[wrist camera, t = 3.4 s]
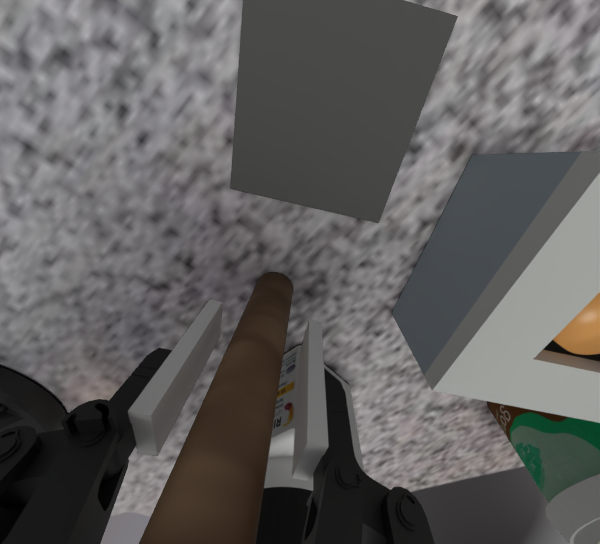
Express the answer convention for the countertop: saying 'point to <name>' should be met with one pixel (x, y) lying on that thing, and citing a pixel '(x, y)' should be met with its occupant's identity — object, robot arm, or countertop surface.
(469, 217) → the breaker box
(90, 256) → the countertop surface
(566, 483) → the food container
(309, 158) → the pad
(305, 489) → the container
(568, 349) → the button
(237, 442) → the stylus
